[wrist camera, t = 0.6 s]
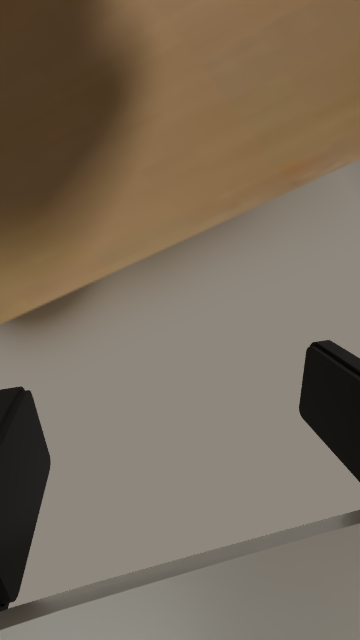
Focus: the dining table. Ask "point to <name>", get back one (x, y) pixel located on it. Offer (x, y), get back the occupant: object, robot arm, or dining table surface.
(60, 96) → the dining table surface
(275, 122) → the dining table surface
